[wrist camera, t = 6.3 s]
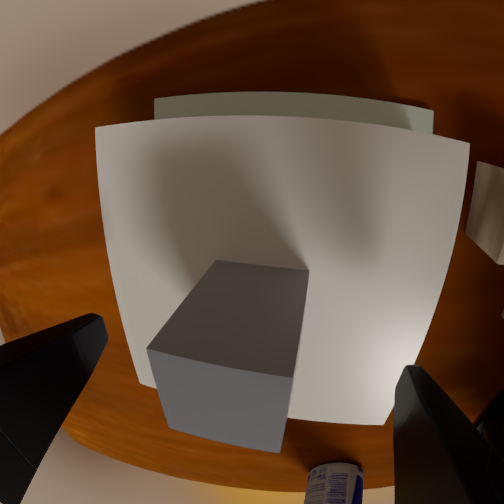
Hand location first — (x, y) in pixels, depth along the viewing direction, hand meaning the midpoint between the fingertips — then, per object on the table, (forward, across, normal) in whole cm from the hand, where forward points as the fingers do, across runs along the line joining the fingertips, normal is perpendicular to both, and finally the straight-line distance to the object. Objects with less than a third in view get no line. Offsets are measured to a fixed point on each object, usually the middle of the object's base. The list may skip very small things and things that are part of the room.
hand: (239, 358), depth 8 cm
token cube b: (+9, -12, -4) cm, 15 cm away
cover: (+9, 0, 0) cm, 9 cm away
